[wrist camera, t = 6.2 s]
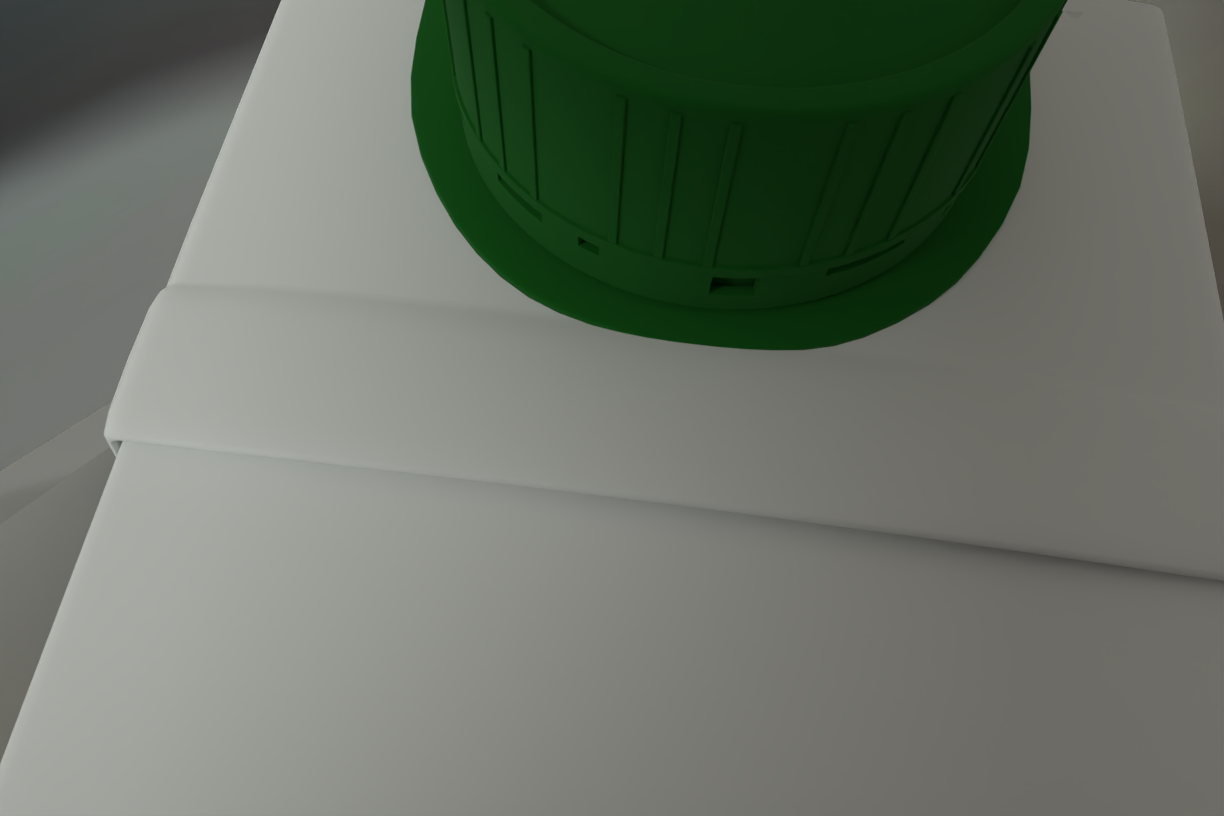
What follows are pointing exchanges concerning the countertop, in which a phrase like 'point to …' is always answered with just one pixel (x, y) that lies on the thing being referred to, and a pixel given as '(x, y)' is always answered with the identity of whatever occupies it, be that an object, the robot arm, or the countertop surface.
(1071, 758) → the milk carton
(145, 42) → the countertop surface
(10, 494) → the robot arm
